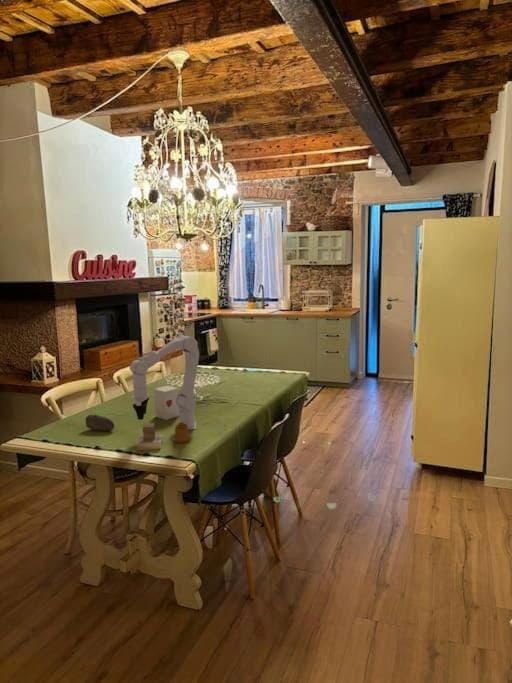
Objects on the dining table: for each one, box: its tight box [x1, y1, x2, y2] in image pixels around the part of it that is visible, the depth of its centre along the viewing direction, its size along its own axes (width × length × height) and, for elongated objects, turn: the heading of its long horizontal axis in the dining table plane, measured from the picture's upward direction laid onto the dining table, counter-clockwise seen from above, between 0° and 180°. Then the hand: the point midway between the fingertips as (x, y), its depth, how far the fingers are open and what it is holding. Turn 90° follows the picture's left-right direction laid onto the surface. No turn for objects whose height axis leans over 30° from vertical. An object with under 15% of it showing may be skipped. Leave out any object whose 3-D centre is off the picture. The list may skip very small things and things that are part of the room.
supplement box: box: [153, 385, 179, 421], centre depth 249 cm, size 9×9×15 cm
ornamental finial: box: [173, 422, 192, 444], centre depth 216 cm, size 8×8×8 cm
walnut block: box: [142, 422, 156, 441], centre depth 211 cm, size 4×4×6 cm
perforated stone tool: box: [85, 414, 115, 432], centre depth 232 cm, size 15×5×7 cm, turn 68°
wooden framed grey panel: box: [135, 433, 164, 451], centre depth 211 cm, size 10×10×3 cm
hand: (142, 416), depth 218 cm, fingers open, 7 cm apart
